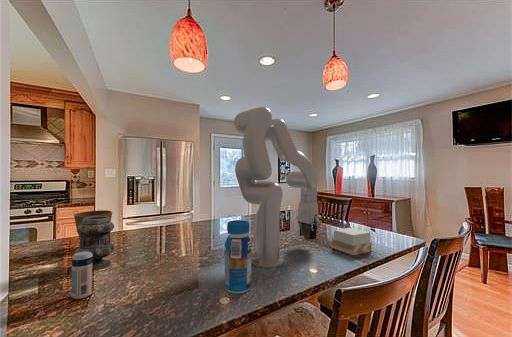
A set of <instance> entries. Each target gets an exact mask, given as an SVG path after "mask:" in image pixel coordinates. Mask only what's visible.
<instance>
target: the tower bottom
mask: <svg viewBox="0 0 512 337" xmlns="http://www.w3.org/2000/svg"><path fill="white" fill-rule="evenodd" d="M331 246H332V249H334V248H335V250H337V251H340V252H343V253H346V254H349V255H352V256H355V255H356V256H357V255H361V254H366V253H369V252H370V253H371V252H372V241H370V243H365V244H360V245H354V246H352V245H349V244H346V243H343V242H340V241H337V240H334V238H332V240H331Z"/></svg>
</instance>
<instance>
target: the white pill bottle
mask: <svg viewBox="0 0 512 337" xmlns="http://www.w3.org/2000/svg"><path fill="white" fill-rule="evenodd" d="M92 268H93V255H92V253H91V252H90V251H83V252H78V253H74V254H73V256H72V258H71V291H70V292H71V293H70V298H72V299H74V300H82V299H85V298H87V297H89V296H91V294H92V293H93V270H92Z"/></svg>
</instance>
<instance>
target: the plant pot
mask: <svg viewBox="0 0 512 337" xmlns="http://www.w3.org/2000/svg"><path fill="white" fill-rule="evenodd" d="M93 216H108V217H109V219H110V222H112V217H113V211H112V210H104V209H103V210H102V209H101V210H100V209H99V210H88V211H82V212H77V213H75V214H73V217H74V223H75V227H76V229H77V227H78V226H79V225H80V224H82V220H83V218H86V217H93ZM77 234H78V233H77ZM78 237H79V239H80V234H78Z"/></svg>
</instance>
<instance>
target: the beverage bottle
mask: <svg viewBox="0 0 512 337" xmlns="http://www.w3.org/2000/svg"><path fill="white" fill-rule="evenodd" d="M226 226H227V228H226V233H227V234H228V236H227V238H226V240H225V242H224V248H225V249H224V253H223V256H224V284H223V286H224V290H225V291H227V292H228V293H230V294H236V295H237V294H243V293H247V292H248V291H249V290H251V288H252V262H251V256H252V253H253V250H252V249H251V248H252V241H251V238H250V237H249V233H250V222H249V221H247V220H242V219H237V220H235V219H234V220H229V221H228V222H227V224H226Z"/></svg>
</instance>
